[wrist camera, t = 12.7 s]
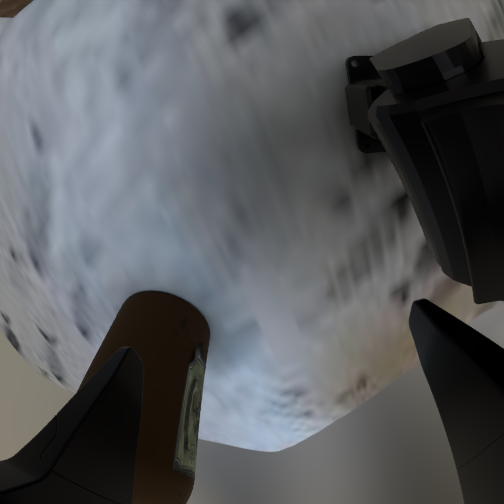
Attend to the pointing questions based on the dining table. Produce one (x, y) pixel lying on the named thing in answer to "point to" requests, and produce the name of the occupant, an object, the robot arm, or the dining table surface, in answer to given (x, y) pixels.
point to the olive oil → (163, 390)
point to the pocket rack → (12, 7)
